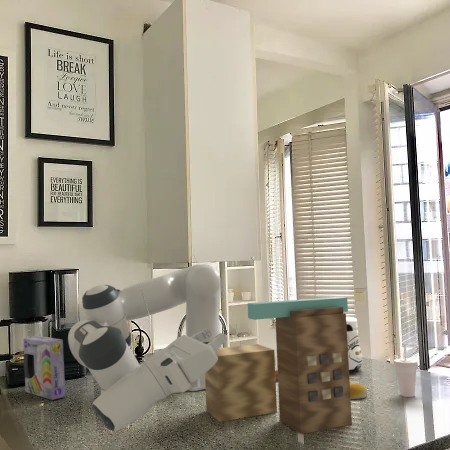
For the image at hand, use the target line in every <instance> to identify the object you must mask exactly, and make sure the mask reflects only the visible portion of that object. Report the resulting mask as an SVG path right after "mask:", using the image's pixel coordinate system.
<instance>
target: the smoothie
mask: <svg viewBox="0 0 450 450" xmlns="http://www.w3.org/2000/svg"><path fill="white" fill-rule="evenodd" d="M403 356H404V357H403V358H395V359H393V364H394V365H395V372H396V377H397V382H398V385H399V386H398V387H399V393H400V396H401V397H404V398H405V397H406V398H413V397H415V396H416V380H417V379H416V378H417V366H418V360H417V359H414V358H407V347H406V344H403Z"/></svg>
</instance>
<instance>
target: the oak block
mask: <svg viewBox="0 0 450 450" xmlns="http://www.w3.org/2000/svg"><path fill="white" fill-rule="evenodd" d="M215 353H216V355H217V357H218V360H217V362H216V364H215V365H214V366H213V367H212V368H211V369H209V370H208V371H207V372H206V373H205V384H206V389H205V411H206V412H207V413H208V414H209V415H211V417H214V419H216V420H217V421H218V422H219V423H221V422H228V421H233V419H234V420H238V419H239V418H240V419H245V418H244V417H246V418H250V417H249V416H251V417H256V415H257V416H261V415H262V414H263V415H267V414H273V413H278V406H277V384H276V383H277V381H276V376H275V371H276V358H275V357H276V356H275V349H273V348H271V347H268V346H264V345H262V344H257V343H256V344H248V345H239V346H229V347H222V348H219V349H218V351H217V352H215ZM263 415H262V416H263ZM240 419H239V420H240ZM227 420H228V421H227Z"/></svg>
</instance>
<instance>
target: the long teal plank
mask: <svg viewBox="0 0 450 450" xmlns="http://www.w3.org/2000/svg"><path fill="white" fill-rule="evenodd" d="M348 305H349V304H348V297H345V296H332V297H319V298H318V297H317V298H305V299H304V298H303V299H292V300H277V301H276V300H274V301H261V302H248V303H247V319H249V320H265V319H267V320H269V319H275V318H280V317H290V311H292V310H304V309H316V308H329V307H343V313H346V312H349V306H348Z"/></svg>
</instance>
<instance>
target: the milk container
mask: <svg viewBox="0 0 450 450" xmlns="http://www.w3.org/2000/svg"><path fill="white" fill-rule="evenodd" d="M346 324H347V343H348V361H349V373H351V372H355V371H358V370H359V369H360V368H361V367H362V365H363V352H362V349H361V346H360V341H359V339H360V338H359V327H358V326H359V325H358V319H357V317H352V316H346Z"/></svg>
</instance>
